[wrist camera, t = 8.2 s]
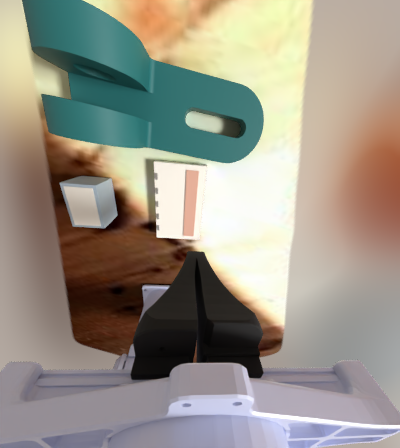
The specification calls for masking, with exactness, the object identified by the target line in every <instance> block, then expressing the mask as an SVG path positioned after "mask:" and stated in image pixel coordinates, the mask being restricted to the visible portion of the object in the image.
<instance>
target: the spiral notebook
mask: <svg viewBox="0 0 400 448" xmlns="http://www.w3.org/2000/svg"><path fill="white" fill-rule="evenodd" d="M206 173H207V165H203V164H191V163H180V162H169V161H158V160H156V161H154V180H155V205H156V230H157V237H159V238H177V239H196V240H199V239H200V230H201V220H202V211H203V201H204V192H205V182H206Z"/></svg>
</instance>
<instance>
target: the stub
mask: <svg viewBox="0 0 400 448" xmlns="http://www.w3.org/2000/svg"><path fill="white" fill-rule="evenodd" d="M60 186H61V190H62V193H63V196H64V199H65V202H66V206H67V209H68V212H69V215H70V218H71V222H72V225H73V226H74V227H91V228H106V227H107V226H108V225H109V223H110V222H111V221H112V220H113V219H114V218H115V217H116V216H117V209H116V202H115V196H114V190H113V184H112V178H103V177H91V176H79V177H76V178H73V179H70V180H67V181H64V182H60Z"/></svg>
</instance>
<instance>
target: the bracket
mask: <svg viewBox="0 0 400 448" xmlns="http://www.w3.org/2000/svg"><path fill="white" fill-rule="evenodd" d="M22 2H23V7H24V12H25V17H26V22H27V27H28V32H29V37H30V42H31V47H32V50H33V52H34V53H36V54H37V55H38V56H40V57H41V58H43V59H45V60H47V61H48V62H50V63H52V64H54V65H56V66H58V67H59V68H61V69H63V70H65V71H67V72H68V76H69V84H70V91H71V99H72V100H69V99H65V98H60V97H56V96H51V95H45V94H41V96H42V101H43V106H44V111H45V116H46V121H47V126H48V131H49V132H50V133H52V134H55V135H58V136H62V137H66V138H71V139H75V140H80V141H85V142H91V143H97V144H103V145H110V146H118V147H127V148H144V147H149V148H154V149H159V150H164V151H168V152H173V153H178V154H183V155H188V156H192V157H197V158H202V159H207V160H211V161H216V162H221V163H232V162H236V161H239V160H241V159H243V158H244V157H246V156H247V155H248V154H249V153H250V152H251V151H252V150H253V149H254V148H255V146H256V145H257V143H258V141H259V139H260V137H261V134H262V130H263V122H264V118H263V110H262V106H261V103H260V101H259V99H258V98H257V96H256V95H255V94H254V92H253V91H252V90H250V89H249V88H248V87H246V86H244V85H241V84H238V83H235V82H231V81H227V80H224V79H220V78H217V77H213V76H209V75H206V74H202V73H198V72H195V71H191V70H188V69H184V68H180V67H177V66H173V65H170V64H166V63H162V62H159V61H155V60H153V59H151V58H150V57H149V55H148V53H147V51H146V49H145V48H144V46H143V44H142V42H141V41H140V40H139V38H138V37H137V36H136V35H135V34H134V33H133V32H132V31H130V30H129V29H128V28H127V27H126V26H124V25H123V24H122V23H120V22H119V21H117V20H116V19H115V18H113V17H111V16H110V15H108V14H107V13H105V12H103V11H102V10H100V9H98V8H96V7H94V6H93V5H91V4H89V3H87V2H85V1H82V0H22ZM190 111H197V112H201V113H205V114H209V115H213V116H217V117H221V118H225V119H229V120H233V121H237V122H238V123H239V124H240V127H241V130H240V134H239V135H238V136H237V137H236V138H233V137H228V136H224V135H220V134H215V133H211V132H207V131H202V130H198V129H194V128H190V127H189V126H188V125H187V124H186V122H185V118H186V115H187V114H188V113H189V112H190Z"/></svg>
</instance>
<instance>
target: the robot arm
mask: <svg viewBox="0 0 400 448" xmlns="http://www.w3.org/2000/svg"><path fill="white" fill-rule="evenodd" d="M142 291H143V300H144V307H143V311H142V314H141V317H140V321H139V324H138V327H137V329H136V332H135V335H134V339H133V344H132V345H131V347H130V351H129V354H128V357H127V354H122V356H120V357H119V358H118V359H117V360H116V362H115V365H114V367H113V369H109V370H108V369H105V370H104V369H101V370H100V369H99V370H43V368H42V366H41V365H40V364H39V363H36V362H10V363H8V364H7V365H6V366H5V367H4V369H3V370H2V371H1V372H0V448H317V447H325V446H334V445H343V444H353V443H367V442H378V441H380V440H382V439H385V438H387V437H390V436H392V435H394V434H396V433H399V432H400V412H399V411H398V410H397V408H396V407H395V406H394V405H393V403H392V402H391V401H390V399H389V398H388V397H387V395H386V394H385V393H384V391H383V390H382V389H381V388H380V386H379V385H378V384H377V382H376V381H375V380H374V378H373V377H372V376H371V374H370V373H369V372H368V370H367V369H366V368H365V366H364V365H363V364H362V363H361V361H359V360H342V361H339V362H337V363H335V365H334V366H333V368H262V365H261V362H260V359H259V356H260V352H259V349H258V345H259V343H260V341H261V338H262V336H263V332H262V329H261V326H260V323H259V321H258V319H257V317H256V315H255V313H253V312H252V311H251V310H249V309H248V308H247V307H246V306H244V305H243V304H242V303H241V302H240V301H238V300H237V299H236V298H235V297H234V296H233V295H232V294H231V293H230V292H229V291H228V290H227V288H226V287H225V286H224V285H223V284H222V282H221V281H220V280H219V278H218V277H217V276H216V274H215V273H214V271H213V269H212V268H211V266H210V264H209V262H208V260H207V258H206V256H205V253H204V252H194V251H188V252H187V256H186V259H185V262H184V264H183V266H182V268H181V270H180V272H179V273H178V275H177V277H176V278H175V280H174V281H173V283H172V284H171V285H143V287H142ZM196 307H197V308H196ZM196 340H197V363H193V358H194V354H195V347H196Z"/></svg>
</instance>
